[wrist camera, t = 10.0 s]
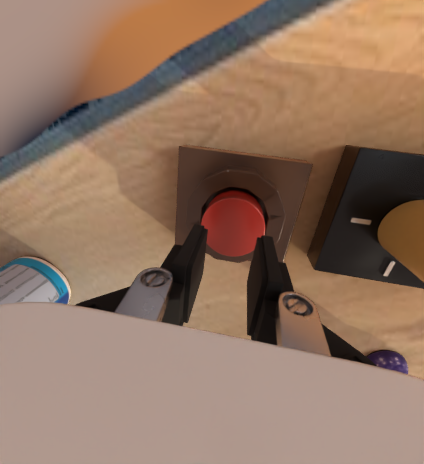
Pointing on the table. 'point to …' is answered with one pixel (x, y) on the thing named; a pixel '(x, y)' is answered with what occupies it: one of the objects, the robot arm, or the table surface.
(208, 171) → the switch box
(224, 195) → the power button
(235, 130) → the table surface
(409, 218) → the dimmer knob
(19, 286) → the beverage bottle
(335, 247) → the dimmer
